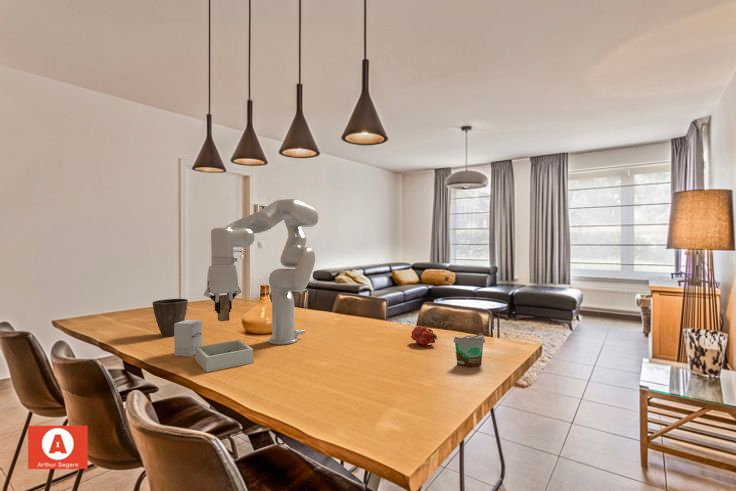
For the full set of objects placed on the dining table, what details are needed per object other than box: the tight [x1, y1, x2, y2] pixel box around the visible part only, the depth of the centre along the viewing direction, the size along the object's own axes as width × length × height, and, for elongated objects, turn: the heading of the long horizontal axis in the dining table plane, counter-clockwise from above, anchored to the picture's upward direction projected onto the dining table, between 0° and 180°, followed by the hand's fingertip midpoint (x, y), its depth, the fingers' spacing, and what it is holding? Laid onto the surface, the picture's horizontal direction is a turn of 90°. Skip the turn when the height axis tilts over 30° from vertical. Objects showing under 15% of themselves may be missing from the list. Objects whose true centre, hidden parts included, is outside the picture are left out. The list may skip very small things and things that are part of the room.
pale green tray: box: [194, 339, 254, 373], centre depth 140 cm, size 16×16×5 cm
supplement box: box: [173, 319, 203, 358], centre depth 150 cm, size 7×7×13 cm
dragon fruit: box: [410, 325, 438, 347], centre depth 160 cm, size 8×8×12 cm
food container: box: [453, 332, 486, 368], centre depth 133 cm, size 12×6×10 cm, turn 117°
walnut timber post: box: [217, 294, 231, 322], centre depth 139 cm, size 3×4×9 cm
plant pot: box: [151, 298, 189, 337], centre depth 180 cm, size 15×15×16 cm
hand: (223, 311), depth 139 cm, fingers closed on walnut timber post, 2 cm apart
